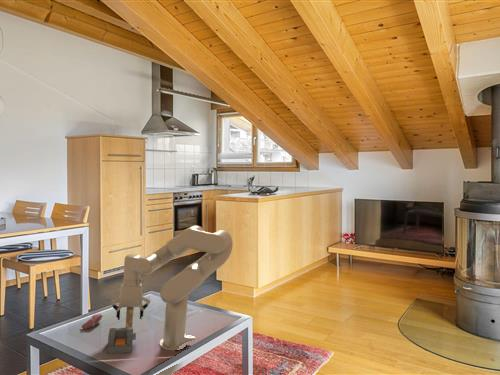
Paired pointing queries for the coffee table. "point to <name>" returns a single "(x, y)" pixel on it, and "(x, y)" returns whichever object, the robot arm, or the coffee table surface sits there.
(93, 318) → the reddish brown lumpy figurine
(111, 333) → the switch box
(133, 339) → the mat
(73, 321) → the coffee table surface
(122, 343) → the button
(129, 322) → the stylus
